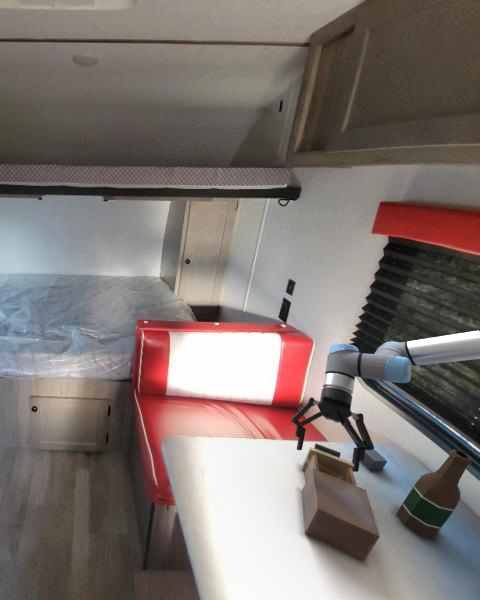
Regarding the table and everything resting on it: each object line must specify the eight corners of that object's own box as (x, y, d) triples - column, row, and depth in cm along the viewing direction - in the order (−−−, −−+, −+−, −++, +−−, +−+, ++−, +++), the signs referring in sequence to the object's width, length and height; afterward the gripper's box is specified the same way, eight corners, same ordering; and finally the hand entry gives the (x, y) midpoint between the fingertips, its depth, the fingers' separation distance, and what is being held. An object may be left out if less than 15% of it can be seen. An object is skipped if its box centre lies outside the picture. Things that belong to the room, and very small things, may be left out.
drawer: (300, 456, 102) (308, 436, 99) (339, 471, 98) (350, 451, 95) (304, 499, 88) (314, 477, 85) (351, 519, 84) (363, 498, 81)
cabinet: (300, 493, 90) (312, 468, 87) (350, 515, 86) (365, 489, 82) (303, 536, 79) (317, 508, 76) (362, 564, 75) (380, 536, 71)
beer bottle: (397, 527, 84) (444, 456, 75) (391, 505, 90) (435, 436, 81) (439, 548, 80) (494, 475, 71) (430, 523, 86) (480, 452, 77)
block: (368, 460, 105) (374, 449, 103) (381, 471, 101) (387, 461, 99) (356, 460, 104) (361, 449, 102) (368, 471, 100) (374, 461, 98)
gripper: (381, 409, 101) (373, 480, 94) (288, 380, 112) (275, 442, 105) (394, 404, 95) (386, 480, 88) (294, 374, 105) (280, 440, 98)
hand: (326, 460), depth 96 cm, fingers open, 13 cm apart
